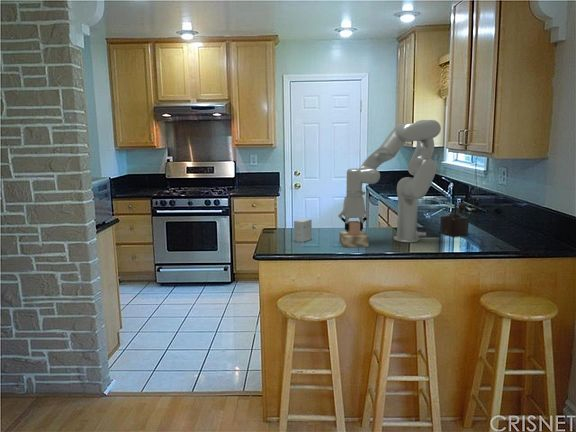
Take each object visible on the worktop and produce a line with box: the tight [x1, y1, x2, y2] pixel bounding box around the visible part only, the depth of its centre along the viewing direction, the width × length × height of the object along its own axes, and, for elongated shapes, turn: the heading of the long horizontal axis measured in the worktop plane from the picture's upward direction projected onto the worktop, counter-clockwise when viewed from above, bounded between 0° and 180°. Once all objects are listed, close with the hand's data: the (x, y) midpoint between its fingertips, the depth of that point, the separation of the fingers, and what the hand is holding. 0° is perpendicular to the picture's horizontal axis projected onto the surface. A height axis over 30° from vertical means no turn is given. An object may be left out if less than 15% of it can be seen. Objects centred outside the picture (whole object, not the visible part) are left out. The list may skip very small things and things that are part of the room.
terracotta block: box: [348, 220, 360, 235], centre depth 225 cm, size 5×5×6 cm
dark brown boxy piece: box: [439, 202, 470, 238], centre depth 240 cm, size 16×11×18 cm
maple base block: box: [339, 230, 370, 248], centre depth 226 cm, size 12×12×5 cm
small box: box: [293, 217, 313, 243], centre depth 235 cm, size 8×6×10 cm
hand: (353, 230), depth 225 cm, fingers open, 6 cm apart
